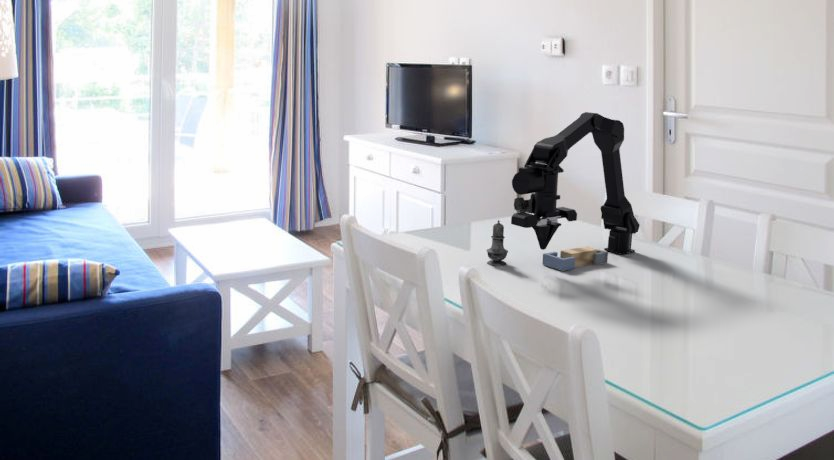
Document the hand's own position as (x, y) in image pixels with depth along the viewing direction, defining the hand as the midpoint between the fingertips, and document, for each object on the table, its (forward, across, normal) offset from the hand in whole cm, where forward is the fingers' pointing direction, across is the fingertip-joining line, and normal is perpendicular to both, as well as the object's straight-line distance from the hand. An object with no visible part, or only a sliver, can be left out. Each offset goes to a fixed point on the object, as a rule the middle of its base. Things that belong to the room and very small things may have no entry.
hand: (542, 249), depth 232 cm
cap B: (+6, -6, 0) cm, 8 cm away
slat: (+6, -14, 0) cm, 15 cm away
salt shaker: (+6, +6, -12) cm, 14 cm away
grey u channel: (+6, -19, 0) cm, 20 cm away
